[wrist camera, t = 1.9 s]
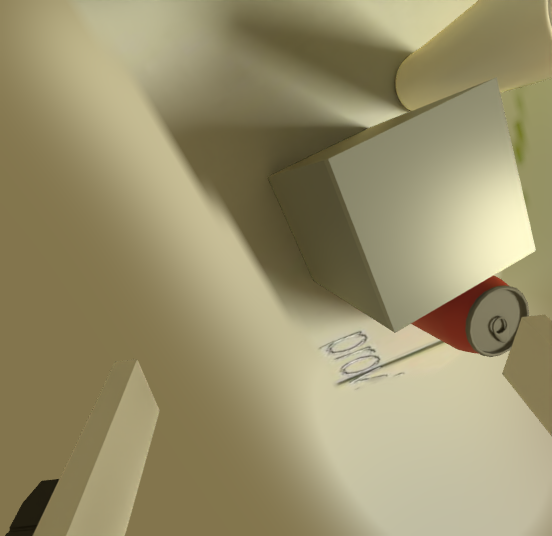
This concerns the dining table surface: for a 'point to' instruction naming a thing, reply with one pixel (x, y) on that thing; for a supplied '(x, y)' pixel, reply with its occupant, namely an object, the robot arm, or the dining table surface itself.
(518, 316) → the beer can
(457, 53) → the drinking glass
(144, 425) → the robot arm
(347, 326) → the dining table surface
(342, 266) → the tall grey box
